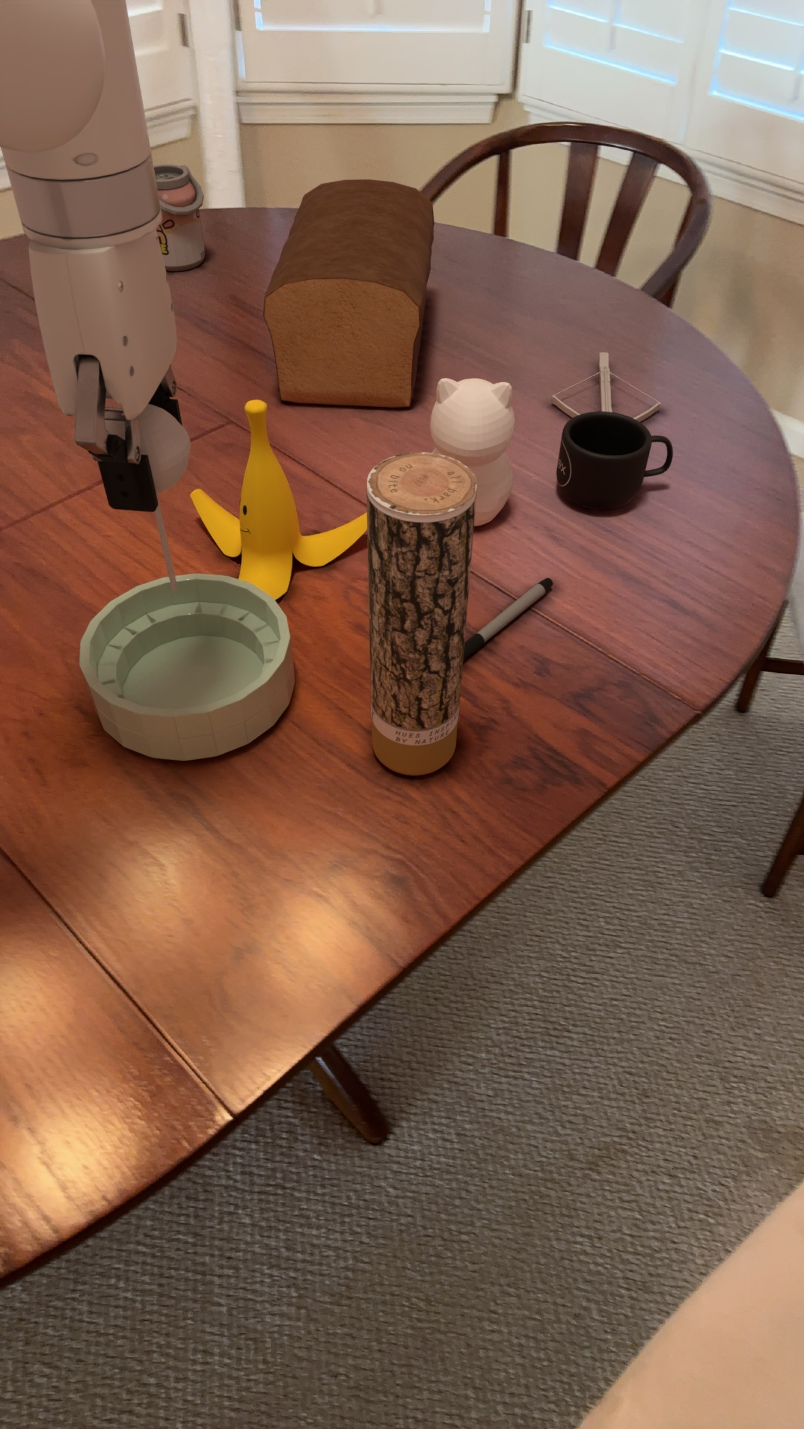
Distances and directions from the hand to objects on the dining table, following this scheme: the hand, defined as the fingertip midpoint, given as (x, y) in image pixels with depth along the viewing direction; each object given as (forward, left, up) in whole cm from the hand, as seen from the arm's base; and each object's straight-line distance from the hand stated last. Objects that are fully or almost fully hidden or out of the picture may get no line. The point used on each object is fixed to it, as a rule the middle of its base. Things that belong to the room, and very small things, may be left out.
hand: (149, 476), depth 64 cm
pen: (+25, +11, -22) cm, 35 cm away
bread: (+5, +62, -21) cm, 66 cm away
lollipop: (0, 0, -10) cm, 10 cm away
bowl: (0, 0, -21) cm, 21 cm away
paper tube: (+19, -4, -21) cm, 29 cm away
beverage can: (-25, +85, -21) cm, 91 cm away
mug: (+36, +34, -21) cm, 54 cm away
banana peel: (+5, +19, -21) cm, 29 cm away
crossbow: (+36, +54, -21) cm, 68 cm away
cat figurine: (+21, +30, -21) cm, 43 cm away
